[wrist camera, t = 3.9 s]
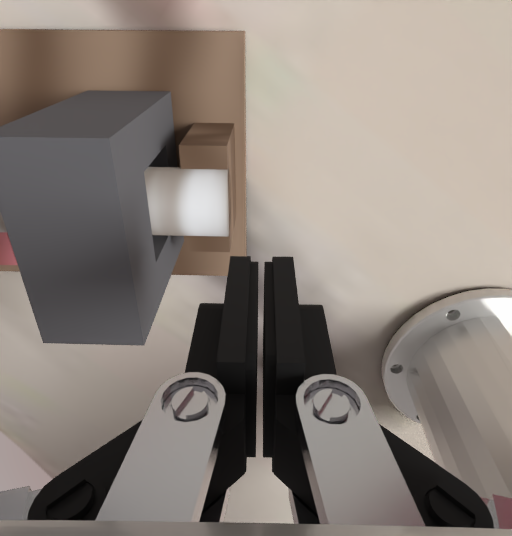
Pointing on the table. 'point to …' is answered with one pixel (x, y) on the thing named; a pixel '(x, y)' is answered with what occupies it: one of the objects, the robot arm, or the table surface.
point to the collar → (89, 213)
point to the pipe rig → (184, 118)
